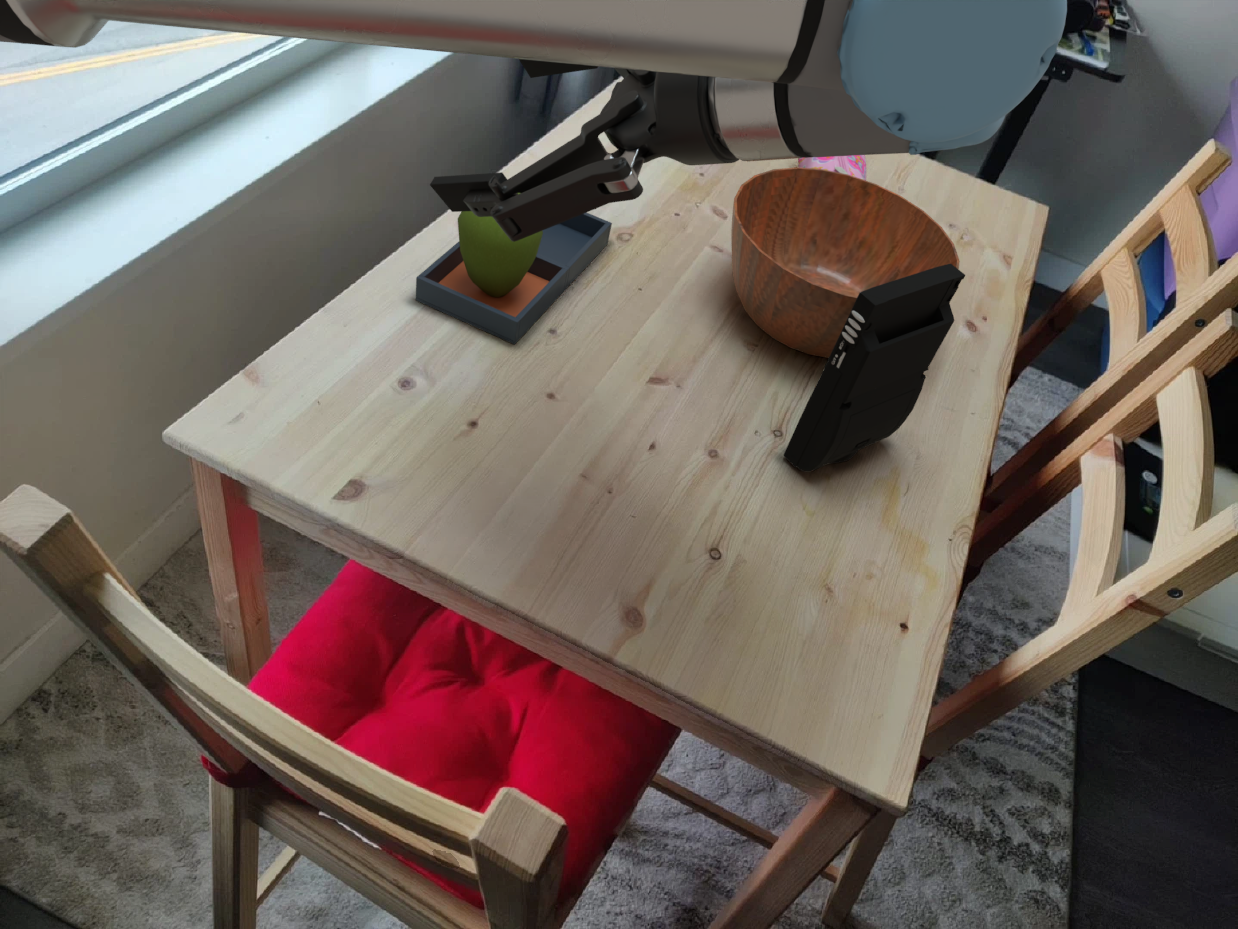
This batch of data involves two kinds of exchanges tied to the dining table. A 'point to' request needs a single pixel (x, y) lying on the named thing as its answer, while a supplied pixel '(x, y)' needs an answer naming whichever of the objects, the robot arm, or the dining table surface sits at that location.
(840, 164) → the pencil case
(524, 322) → the tray
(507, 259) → the apple
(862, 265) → the bowl
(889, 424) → the black electronic device
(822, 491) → the dining table surface
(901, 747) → the dining table surface
